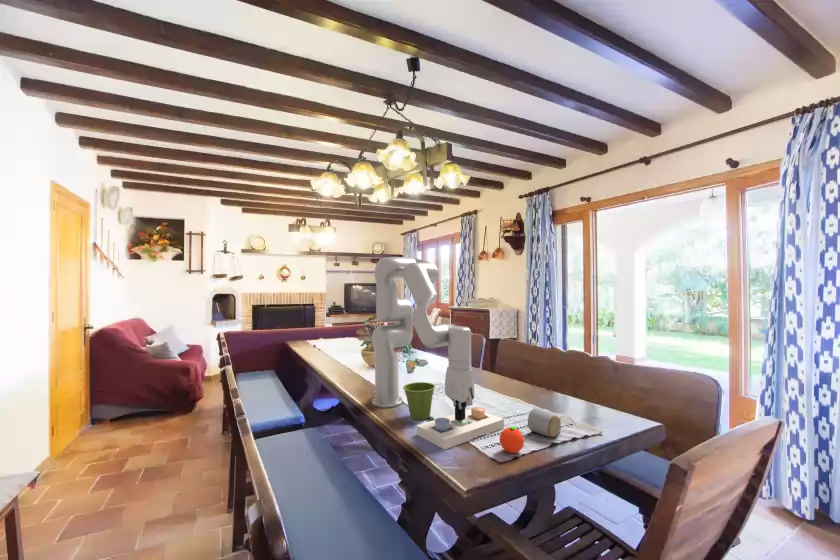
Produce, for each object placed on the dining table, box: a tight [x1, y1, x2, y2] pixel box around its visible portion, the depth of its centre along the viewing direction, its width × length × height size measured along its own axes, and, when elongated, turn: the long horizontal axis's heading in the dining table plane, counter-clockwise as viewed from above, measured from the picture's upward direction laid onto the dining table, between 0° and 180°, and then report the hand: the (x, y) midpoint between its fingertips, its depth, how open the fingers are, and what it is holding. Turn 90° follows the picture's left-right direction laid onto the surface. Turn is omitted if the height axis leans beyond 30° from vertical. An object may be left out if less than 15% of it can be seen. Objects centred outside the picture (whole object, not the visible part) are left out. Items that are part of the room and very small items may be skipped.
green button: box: [454, 419, 468, 427], centre depth 127 cm, size 5×5×3 cm
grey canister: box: [527, 406, 562, 438], centre depth 125 cm, size 11×8×8 cm
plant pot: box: [402, 381, 436, 421], centre depth 140 cm, size 12×12×11 cm
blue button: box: [434, 417, 450, 433], centre depth 122 cm, size 5×5×3 cm
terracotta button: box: [470, 406, 486, 421], centre depth 132 cm, size 5×5×3 cm
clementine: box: [499, 426, 525, 454], centre depth 112 cm, size 8×7×7 cm
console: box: [416, 408, 505, 450], centre depth 127 cm, size 14×26×3 cm, turn 126°
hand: (460, 419), depth 127 cm, fingers closed
